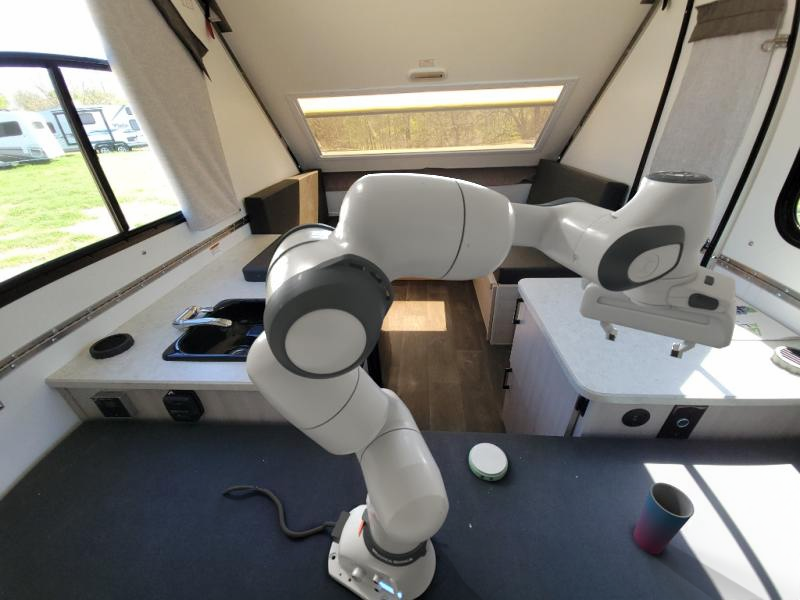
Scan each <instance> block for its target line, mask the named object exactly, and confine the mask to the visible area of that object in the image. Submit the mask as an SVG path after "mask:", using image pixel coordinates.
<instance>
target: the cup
mask: <svg viewBox="0 0 800 600" xmlns="http://www.w3.org/2000/svg"><path fill="white" fill-rule="evenodd" d="M694 514H695V506H694V504H693V502H692V500H691V499H690V498H689V496H688V495H687V494H686V493H685V492H684V491H682V490H681V489H679V488H677V487H676V486H674V485H672V484H670V483H666V482H655V483H653V484H652V485H651V486H650V489H649V491H648V494H647V496H646V499H645V503H644V505H643V508H642V510H641V513H640V515H639V518H638V521H637V523H636V526H635V529H634V531H633V538H634V540H635V542H636V544H637V545H638V546H639V548H641V549H642V550H643V551H645V552H646V553H648V554H652V555H659V554H660V553H662V552H663V550H664V549H666V547H667V546H668V545H669V543H670V542H671V541H672V540H673V539H674V537H675V536H676V535H678V533H679V532H680V531H681V529H682V528H683V527H684V526H685V525H686V523H688V522H689V520H690V519H691V518H692V517H693V515H694Z"/></svg>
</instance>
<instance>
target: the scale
mask: <svg viewBox="0 0 800 600" xmlns="http://www.w3.org/2000/svg"><path fill="white" fill-rule="evenodd" d="M508 464H509V461H508V458H507V455H506V454H505V452H504V451H503V450H502V449H501V448H500V447H499V446H496V445H495V444H493V443H489V442H482V443H478V444H476V445H474V446H473V447H472V448H471V449H470V451H469V454H468V465H469V467H470V469H471V472H473V474H475V476H476V477H478V478H480V479H482V480H485V481H488V482H489V481H490V482H491V481H492V482H493V481H498V480H501V479H502V478H503V477H504V476H505V475H506V473H507V471H508V466H509V465H508Z"/></svg>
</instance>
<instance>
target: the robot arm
mask: <svg viewBox="0 0 800 600" xmlns="http://www.w3.org/2000/svg"><path fill="white" fill-rule="evenodd" d="M716 201H717V186H716V182H715V180H714V179H713V178H712V177H709V176H708V175H706V174H702V173H697V172H691V171H683V170H680V171H678V170H661V171H655V172H651V173H649V174H646V175H645V176H644V177H643V178H642V180H641V182H640V184H639V187H638V190H637V192H636V193H635V195H634V196H633V197H632V198H631V199H630V200H629V201H628V202H627V203H626V204H625V205H624V206H622V207H621V208H620V209H618V210H616V211H615V210H610V209H607V208H604V207H601V206H598V205H594V204H592V203H591V202H588V201H585V200H583V199H581V198H578V197H572V196H569V197H563V198H559V199H556V200H553V201H550V202H546V203H542V204H541V203H540V204H533V203H525V202H517V201H511V200H510V199H509V198H508V197H507V196H506V195H504V194H502V193H500V192H498V191H496V190H493V189H491V188H488V187H486V186H483V185H480V184H476V183H474V182H470V181H466V180H462V179H456V178H452V177H451V178H450V177H445V176H439V175H433V174H432V175H431V174H421V173H373V174H367V175H364V176H362V177H360V178H357V180H355V181H354V182H353V184H351V186H350V187H349V189H348V190H347V192H346V193H345V196H344V198H343V200H342V203H341V206H340V210H339V215H338V216H339V217H338V223H337V225H336V227H332V226H331V225H328V224H324V223H320V222H319V223H318V222H308V223H304V224H300V225H297V226H295V227H293V228H291V229H290V230H288V231H287V232H286V233H285V234H283V235H282V236H281V238H280V239H279V240H278V242H277V243H276V245H275V247H274V249H273V250H272V251H273V252H272V255H271V261H270V263H269V266H268V269H267V273H266V278H265V307H264V312H263V328H264V330H263V331H262V332H261V333H260V334H259V335H258V336H257V338H255V340H254V341H253V343H252V345H251V346H250V348H249V350H248V353H247V356H246V359H245V360H246V361H245V362H246V363H245V369H246V373H247V376H248V378H249V380H250V381H251V383H252V385H254V387H255V388H256V389H257V391H258V392H259V394H261V395H262V397H263V398H264V399H265V400H266V401H267V402H268V403H269V405H270V406H272V407H273V409H274V410H275V411H276V412H277V413H279V414H280V415H281V416H282V417H283V418H284V419H286V420H287V421H288V422H289V423H290V424H292V425H293V426H294V427H295V428H297V429H299V430H300V431H301V432H302V433H303V434H304V435H305V436H307V437H309V438H310V439H311V440H312V441H314V442H315V443H316V444H318V445H319V446H320V447H321V448H323V449H324V450H325V451H327V452H328V453H330V454H333V455H335V456H336V455H337V456H346V455H350V454H355V456H356V458H357V460H358V463H359V466H360V468H361V472H362V475H363V479H364V483H365V487H366V491H367V495H366V500H365V502H366V504H360V505H358V506H357V507H354V508H353V509H352V510H350V511H349V512H348V511H345V510H342V512H341V513H340V516H339V517H338V519H337V521H325V522H323V523H322V525H320V526H317V527H315V528H312V529H309V530H306V531H292V530H291V529H289V528H288V527H287V525H286V522H285V514H284V508H283V504H282V502H281V501H280V500H279V498H278V497H277V496H276V495H275V494H274V493H273V492H272V491H270V490H269V489H266V488H264V489H262V488H263V487H261V488H258V487H259V486H256V488H258V489H259V490H252V491H254V492H259V493H261V494H264V495H266V496H268V497H269V498H270V499H271V500H272V501H273V503H274V504H275V506H276V507H277V510H278V516H279V518H278V519H279V526H280V529H281V531H282V532H283V534H285V535H286V536H288V537H290V538H299V539H300V538H305V537H308V536H309V537H310V536H312V535H315V534H317V533H320V532H323V531H325V530H326V529H327V528H333V529H332V532H331V534H330V538H331V540H332V541H331V542H332V543H331V546H330V550H329V554H328V560H327V561H328V563H327V564H328V565H327V566H328V567H327V568H328V575H329V576H330V577H331V578H332V579H333V580H335V581H336V582H338V583H339V584H341V585H342V586H344V587H345V588H346V589H348V590H349V591H351V592H352V593H354V594H355V595H357V596H358V597H360V598H361V599H362V600H415V599H416V598H419V597H420V596H421V595H422V594H423V593H424V592H426V590H427V589H428V588H429V586H430V584H431V583H432V580H433V578H434V575H435V571H436V563H437V562H436V560H437V559H436V553H435V548H434V545H433V542H432V540H431V538H432V537H433V536H435V535H436V533H437V532H439V530H440V529H441V528H442V526H443V525H444V523H445V521H446V519H447V517H448V514H449V510H450V503H449V498H448V495H447V491H446V487H445V483H444V480H443V477H442V474H441V470H440V468H439V466H438V464H437V463H436V460H435V458H434V457H433V455H432V453H431V450H430V448H429V446H428V445H427V442H426V440H425V438H424V436H423V435H422V433H421V431H420V429H419V427H418V425H417V423H416V421H415V419H414V417H413V415H412V413H411V411H410V409H409V408H408V407H407V405H406V404H405V403H404V402H403V400H402V399H401V398H400V397H399V396H398V395H397V394H396V393H395V392H394V391H393V390H392V389H388V388H383V387H382V388H381V387H380V386H379V385H378V384H377V383H376V382H375V381H374V380H373V378H372V377H371V376H370V375H369V374H368V373H367V372H366V371H365V370H364V368H362V366H361V365H362V364H363V363H364V362H365V361H366V360H367V359H368V357H369V356H370V355H371V353H372V352H373V350H374V349H375V347H376V345H377V343H378V340H379V338H380V335H381V332H382V328H383V324H384V320H385V318H386V316H387V315H388V313H389V311H390V309H391V307H392V305H393V304H394V300H395V291H394V287H393V285H392V282H393V281H395V280H398V279H402V278H419V279H429V280H430V279H431V280H442V281H471V280H477V279H482V278H486V277H488V276H490V275H491V274H492V273H493V272H495V271H496V270H497V269H498V268H499V267H500V266H501V265H502V264H503V263H504V261H505V260H506V258H507V256H508V255H509V253H510V250H511V249H512V247H513V246H514V247H515V246H516V247H531V248H533V249H534V250H535V251H536V252H538V253H539V254H541V256H543V257H545V258H547V259H550V260H552V261H555V262H556V263H558V264H560V265H562V266H563V267H565V268H567V269H568V270H571V271H572V272H574V273H576V274H577V275H580V277H581V283H580V284H581V285H580V286H581V289H582V290H583V293H582V294H581V295H582V296H581V299H580V303H579V308H578V309H579V310H578V312H579V313H580V314H581V316H582V317H583V318H585V319H590V320H595V321H599V322H600V323H599V325H600V326H601V328H602V329H603V332H605V340H608V341H611V342H616V339H617V338H618V332H619V328H616V327H613V326H614V325H616V326H620V327H625V328H629V329H633V330H636V331H641V332H646V333H651V334H654V335H659V336H662V337H667V338H671V339H675V340H681V341H683V342H681V343H677V342H673V344H672V348H671V350H670V354H669V356H670V357H672V358H676V359H679V360H682V358H683V354H684V353H686V352H688V351H690V350H691V349H694V348H696V344H697V345H701V346H706V347H710V348H713V349H724V348H727V347H729V346H730V345H731V342H732V339H733V337H734V336H733V335H734V330H735V327H736V326H735V325H736V318H737V302H736V299H735V296H736V291H737V284H736V279H735V278H733V277H731V276H730V275H726V274H723V273H721V272H717V271H715V270H713V269H710V268H707V267H705V266H702V265H701V260H700V259H701V258H700V252H701V251H702V248H703V247H704V245H705V243H706V242H707V240H708V238H709V235H710V232H711V227H712V223H713V219H714V215H715V209H716ZM387 293H388V294H387ZM254 486H255V485H237V486H231V487H229V488H226V489H227V492H229V493H232V492H236V491H247V490H246V489H252V488H254ZM226 489H224V490H223V491H222V492H221V494H222V495H223V496H226V495H227V494H228V493H226V492H225V490H226ZM260 490H261V491H260ZM263 491H264V492H263ZM265 492H266V493H265ZM268 494H269V495H270V496H269V495H268ZM274 495H275V496H274ZM271 497H272V498H271ZM333 558H334V559H333Z"/></svg>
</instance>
